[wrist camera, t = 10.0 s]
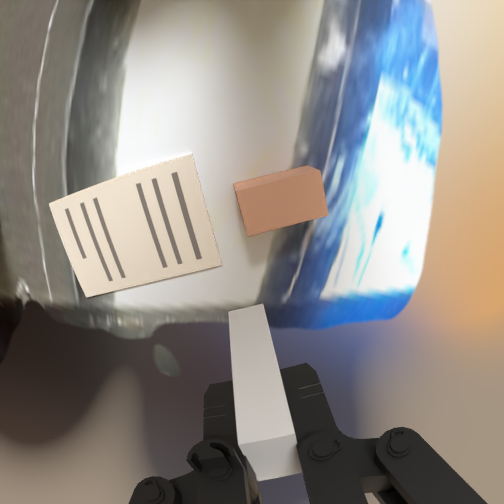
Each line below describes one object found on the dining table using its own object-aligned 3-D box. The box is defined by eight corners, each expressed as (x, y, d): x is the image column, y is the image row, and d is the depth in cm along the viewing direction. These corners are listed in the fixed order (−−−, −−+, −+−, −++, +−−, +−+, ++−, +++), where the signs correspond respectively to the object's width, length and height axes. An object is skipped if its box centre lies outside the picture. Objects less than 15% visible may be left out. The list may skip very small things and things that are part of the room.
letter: (49, 203, 33) (48, 203, 32) (192, 154, 33) (191, 154, 33) (87, 296, 38) (86, 297, 38) (222, 264, 38) (222, 265, 38)
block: (235, 191, 30) (320, 170, 30) (233, 183, 35) (307, 165, 35) (247, 236, 32) (328, 215, 32) (244, 223, 37) (314, 204, 37)
